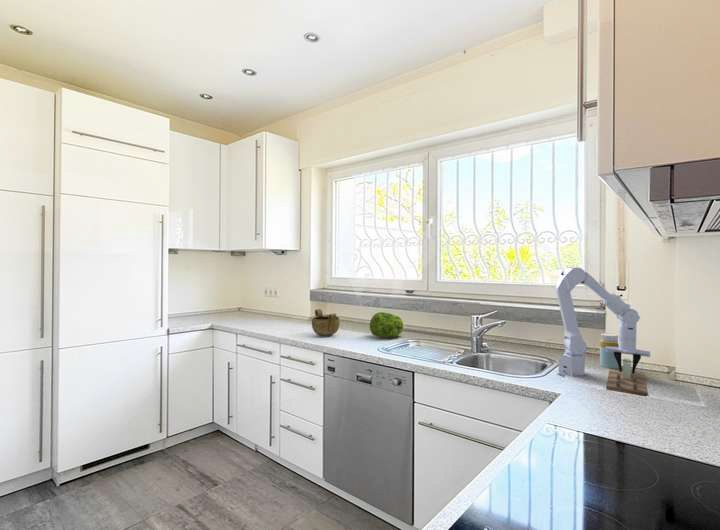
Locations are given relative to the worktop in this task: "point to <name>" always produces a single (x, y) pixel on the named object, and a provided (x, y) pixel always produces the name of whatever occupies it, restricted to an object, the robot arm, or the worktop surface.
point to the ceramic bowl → (325, 324)
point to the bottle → (608, 357)
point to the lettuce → (386, 325)
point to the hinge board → (627, 383)
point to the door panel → (626, 368)
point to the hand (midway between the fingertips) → (626, 372)
